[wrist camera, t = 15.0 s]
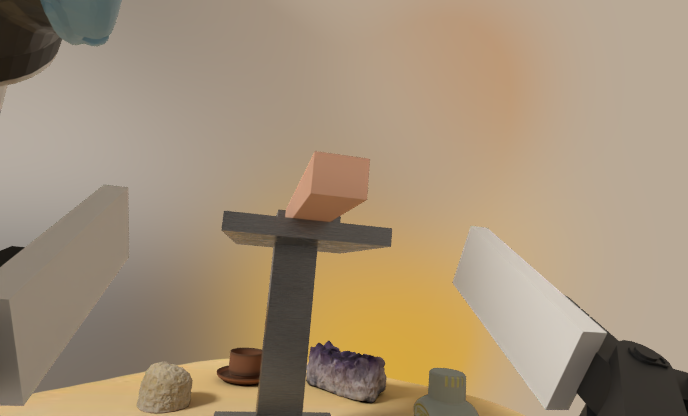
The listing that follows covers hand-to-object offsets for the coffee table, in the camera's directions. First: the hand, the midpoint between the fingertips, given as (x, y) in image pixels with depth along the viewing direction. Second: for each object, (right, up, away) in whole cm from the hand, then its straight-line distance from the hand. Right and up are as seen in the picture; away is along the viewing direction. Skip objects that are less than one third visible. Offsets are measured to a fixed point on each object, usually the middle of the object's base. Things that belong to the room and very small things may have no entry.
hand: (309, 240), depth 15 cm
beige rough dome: (-30, -33, +53) cm, 69 cm away
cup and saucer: (-20, -36, +71) cm, 82 cm away
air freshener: (+18, -36, +48) cm, 63 cm away
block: (-3, -1, +32) cm, 32 cm away
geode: (+1, -38, +69) cm, 79 cm away
